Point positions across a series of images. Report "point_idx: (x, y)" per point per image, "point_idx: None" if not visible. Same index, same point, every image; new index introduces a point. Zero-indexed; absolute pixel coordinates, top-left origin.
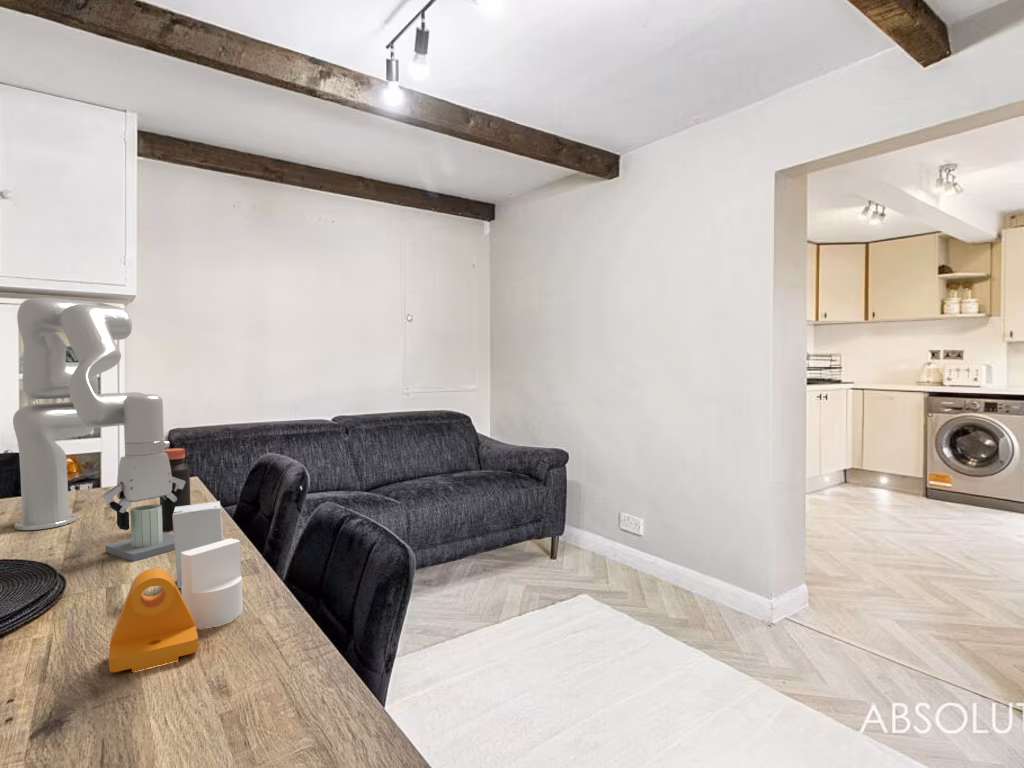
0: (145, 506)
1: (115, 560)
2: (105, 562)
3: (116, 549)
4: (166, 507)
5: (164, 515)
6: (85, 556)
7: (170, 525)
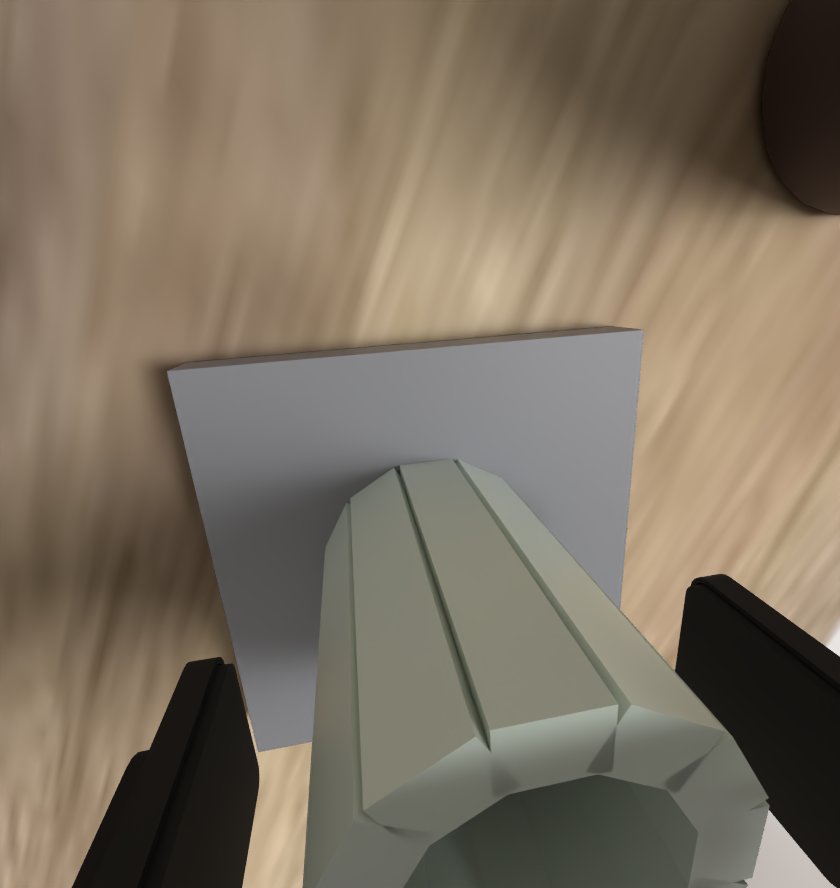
0: (607, 771)
1: (190, 617)
2: (128, 613)
3: (212, 552)
4: (792, 747)
5: (705, 613)
6: (26, 348)
7: (809, 165)
